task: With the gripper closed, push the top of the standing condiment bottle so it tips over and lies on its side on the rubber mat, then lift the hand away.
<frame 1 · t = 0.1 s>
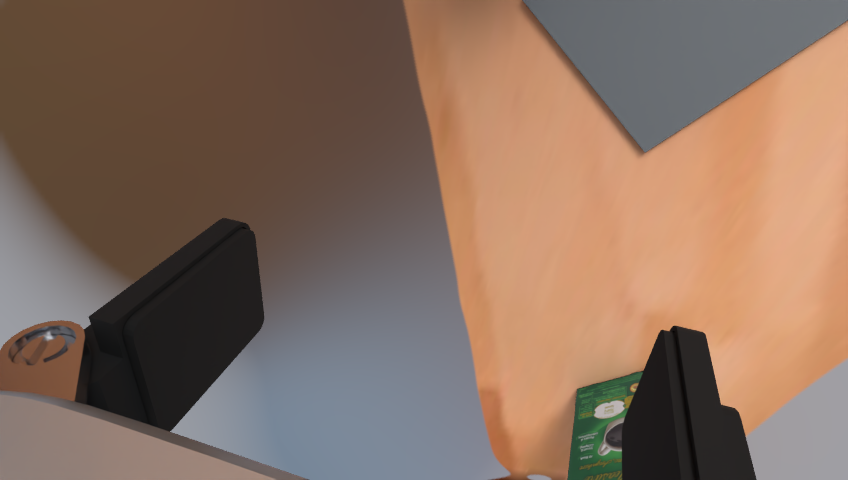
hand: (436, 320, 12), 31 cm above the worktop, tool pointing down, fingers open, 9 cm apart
coffee box: (619, 386, 51), on the worktop
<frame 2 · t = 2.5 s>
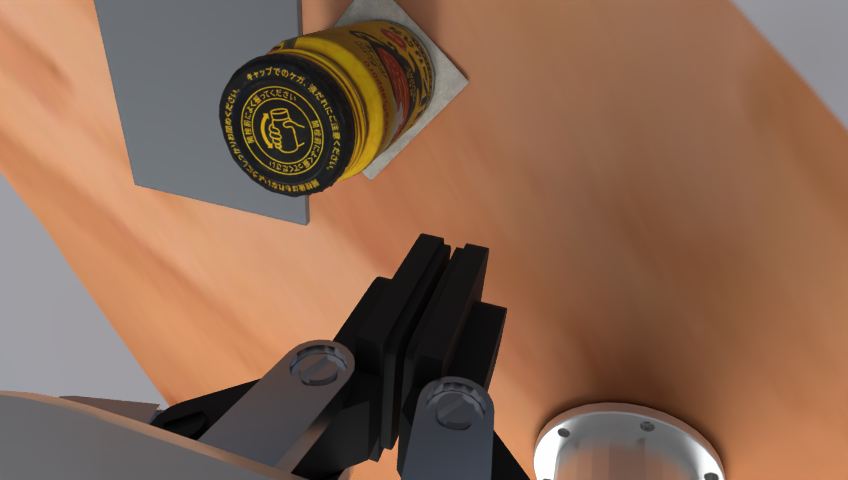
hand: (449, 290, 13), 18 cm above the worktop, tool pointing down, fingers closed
mat: (202, 56, 33), on the worktop
condiment: (373, 86, 30), on the worktop, touching mat
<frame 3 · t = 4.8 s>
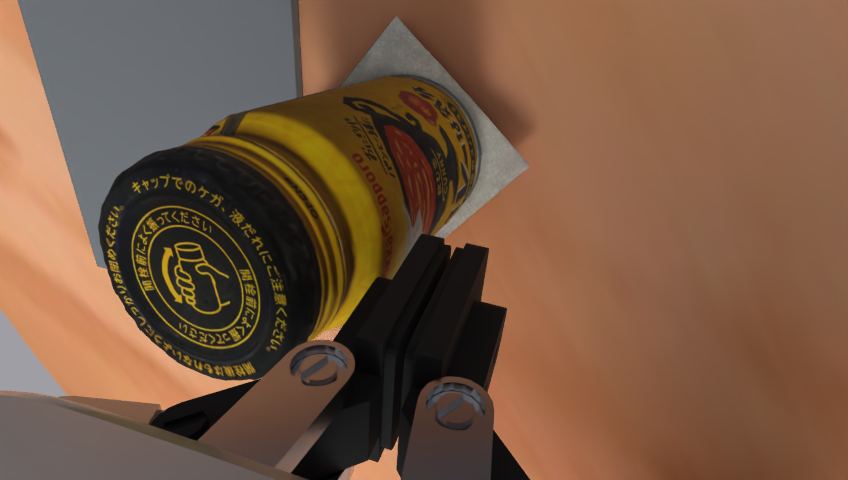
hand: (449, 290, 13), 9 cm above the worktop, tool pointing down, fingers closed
mat: (172, 116, 25), on the worktop
condiment: (395, 162, 22), point 1 cm above the worktop, touching gripper, mat
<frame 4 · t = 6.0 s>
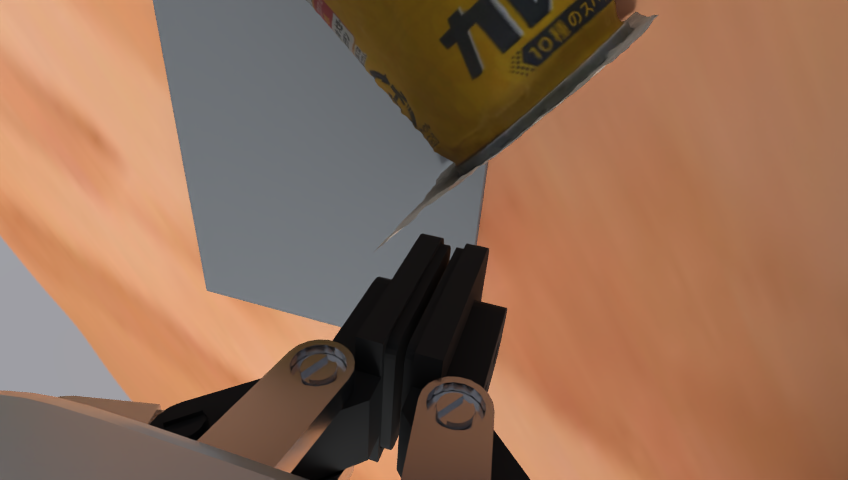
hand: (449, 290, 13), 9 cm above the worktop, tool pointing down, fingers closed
mat: (323, 130, 22), on the worktop
condiment: (523, 133, 15), point 4 cm above the worktop, touching mat
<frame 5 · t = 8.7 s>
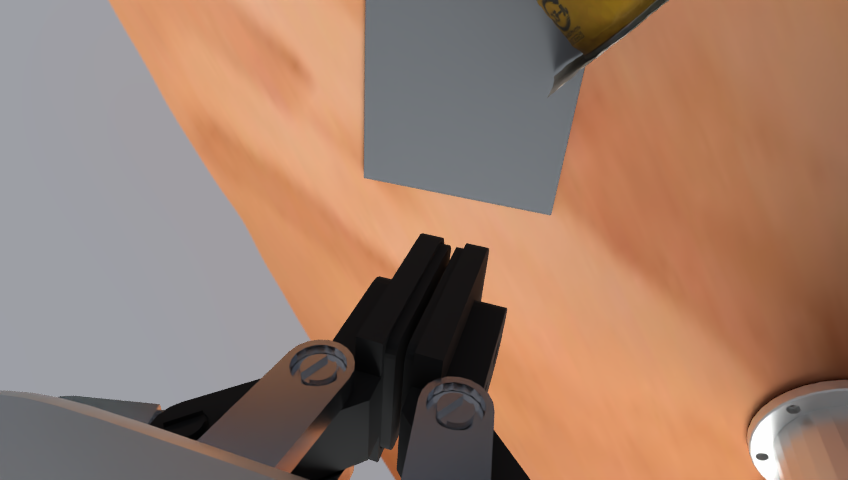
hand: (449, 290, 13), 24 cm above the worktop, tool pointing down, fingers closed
mat: (471, 52, 33), on the worktop
condiment: (624, 36, 27), point 4 cm above the worktop, touching mat
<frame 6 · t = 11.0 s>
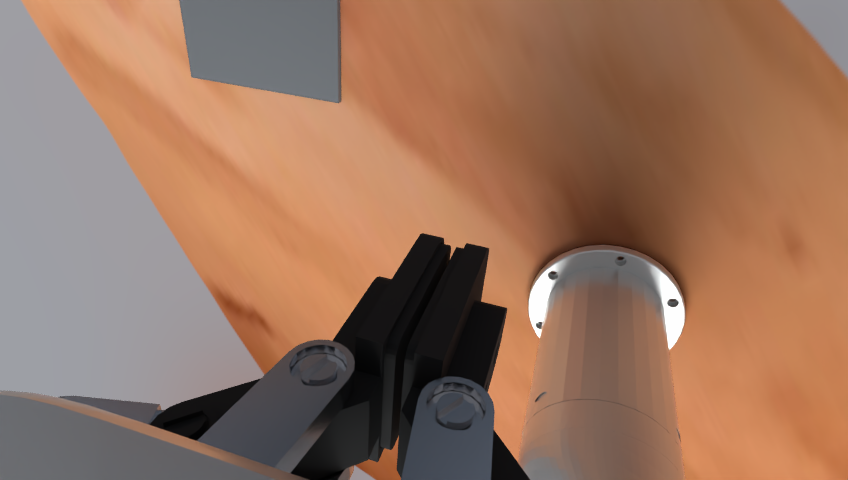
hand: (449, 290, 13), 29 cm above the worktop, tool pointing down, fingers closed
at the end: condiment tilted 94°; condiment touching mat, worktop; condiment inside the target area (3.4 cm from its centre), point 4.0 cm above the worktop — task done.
